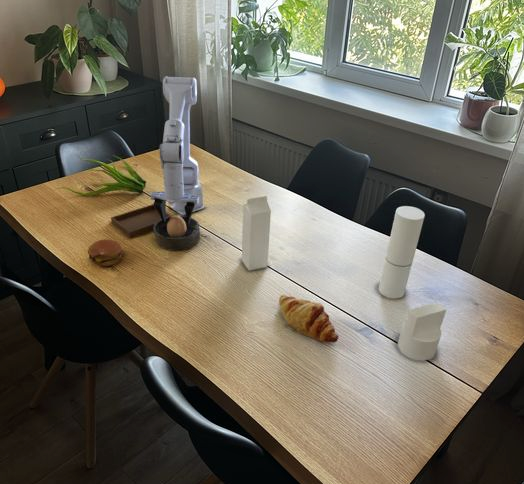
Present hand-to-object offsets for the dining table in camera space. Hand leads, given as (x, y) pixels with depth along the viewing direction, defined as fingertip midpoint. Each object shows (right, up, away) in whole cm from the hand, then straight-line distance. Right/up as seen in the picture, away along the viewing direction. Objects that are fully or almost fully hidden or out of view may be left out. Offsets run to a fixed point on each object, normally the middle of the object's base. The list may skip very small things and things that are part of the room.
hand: (176, 222), depth 154 cm
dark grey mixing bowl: (0, -5, +4) cm, 6 cm away
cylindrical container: (+63, -21, -14) cm, 68 cm away
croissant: (+38, -29, -27) cm, 55 cm away
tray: (-13, +1, +11) cm, 17 cm away
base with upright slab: (+65, -34, -32) cm, 80 cm away
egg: (0, -5, +3) cm, 6 cm away
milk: (+24, -13, -6) cm, 28 cm away
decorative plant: (-32, +13, +27) cm, 43 cm away
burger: (-20, -11, -7) cm, 24 cm away
